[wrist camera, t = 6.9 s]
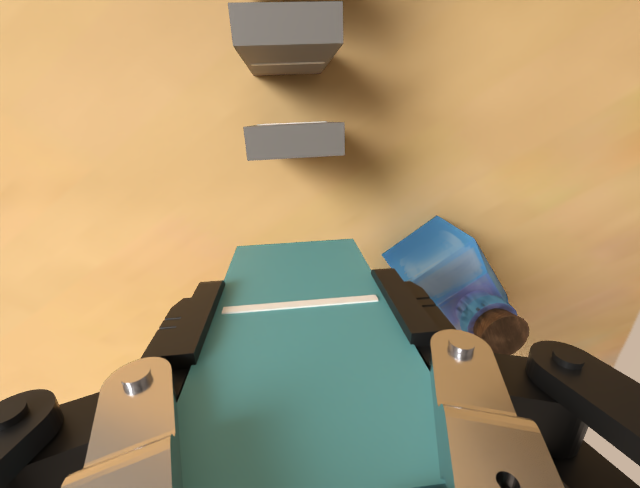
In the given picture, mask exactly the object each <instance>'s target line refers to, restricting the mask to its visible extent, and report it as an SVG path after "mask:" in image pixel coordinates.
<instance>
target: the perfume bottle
mask: <svg viewBox="0 0 640 488" xmlns="http://www.w3.org/2000/svg"><path fill="white" fill-rule="evenodd" d="M382 256H383V257H384V259H385V260H386V261H387V263H388V264H389V265H390V267H391V268H394V269H395V270H396V271H397V273H398V274H399V276H400V277H401V278H402V280H403V281H411V282H413V283H415V284H416V285H418V286H420V287H422V288H423V289H424V290H425V292H426V293H427V294H428V295H429V297H430V299H432V300H433V301H434V303H435V304H436V306H438V307H439V309H440V310H441V311H442V312H443V314H444V315H445V316H446V317H447V318H448V320H449V321H450V322H451V323H452V325H453V326H454V327H455V328H456V329H457V330H462V331H466V332H469V333H471V334H474V335H476V336H478V337H479V338H481V339H482V340H484V341H485V342H486V343H487V344H488V345H489V346H490V347H491V349H492V351H493V352H494V353H499V354H506V355H511V354H513V353H515V352H516V351H518V350H519V349H520V348H521V347H522V346H523V345H524V343H525V342H526V340H527V338H528V336H529V327H528V323H527V322H526V321H525V320H524V319H523V318H521V317H519V316H517V313H516V310H515V309H514V308H513V307H512V306H511V305H510V304H509V303H508V298H507V294H506V292H505V291H504V289H503V287H502V285H501V284H500V282H499V280H498V278H497V277H496V275H495V273H494V272H493V270H492V268H491V266H490V265H489V263H488V261H487V260H486V258H485V256H484V254H483V253H482V251H481V249H480V247H479V246H478V244H477V242H476V241H475V239H474V238H472V237H471V236H469V235H468V234H466V233H464V232H463V231H461V230H460V229H458V228H456V227H455V226H453V225H452V224H450V223H448V222H447V221H445V220H444V219H442V218H440V217H439V216H436V217H434V218H433V219H431V220H430V221H428V222H427V223H426V224H424V225H423V226H421V227H420V228H419V229H417V230H416V231H414V232H413V233H411V234H410V235H409V236H407V237H406V238H404V239H403V240H402V241H400V242H399V243H397V244H396V245H394V246H393V247H392V248H390V249H389V250H387V251H386V252H385V253H383V254H382Z"/></svg>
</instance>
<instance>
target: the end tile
mask: <svg viewBox="0 0 640 488" xmlns="http://www.w3.org/2000/svg"><path fill="white" fill-rule="evenodd" d="M224 282H225V287H224V290H223V292H222V295H221V298H220V301H219V303H218V306H217V309H216V312H215V314H214V317H213V320H212V322H211V325H210V328H209V331H208V333H207V336H206V339H205V342H204V344H203V347H202V350H201V353H200V355H199V358H198V361H197V364H196V365H191V368H190V370H189V373H188V376H187V378H186V381H185V383H184V386H183V389H182V391H181V394H180V396H179V399H178V402H177V410H178V424H179V438H180V452H181V466H182V480H183V488H446V483H445V480H443V479H440V469H439V459H438V449H437V439H436V429H435V418H434V408H433V398H432V388H431V378H430V371H429V370H428V368H427V366H426V364H425V363H424V361H423V359H422V358H421V356H420V354H419V352H418V351H417V349H416V347H415V345H414V344H412V345H410V343H409V341H408V339H407V337H406V336H405V334H404V332H403V330H402V329H401V327H400V325H399V323H398V321H397V320H396V318H395V316H394V314H393V313H392V311H391V309H390V307H389V305H388V304H387V302H386V300H385V298H384V297H383V295H382V293H381V291H380V289H379V288H378V286H377V284H376V282H375V280H374V279H373V277H372V275H371V269H370V267H369V266H368V264H367V262H366V261H365V259H364V257H363V255H362V254H361V252H360V250H359V248H358V247H357V245H356V243H355V242H354V240H353V239H342V240H326V241H311V242H296V243H281V244H265V245H250V246H237V248H236V251H235V253H234V256H233V258H232V261H231V264H230V266H229V269H228V271H227V274H226V277H225V279H224Z"/></svg>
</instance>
